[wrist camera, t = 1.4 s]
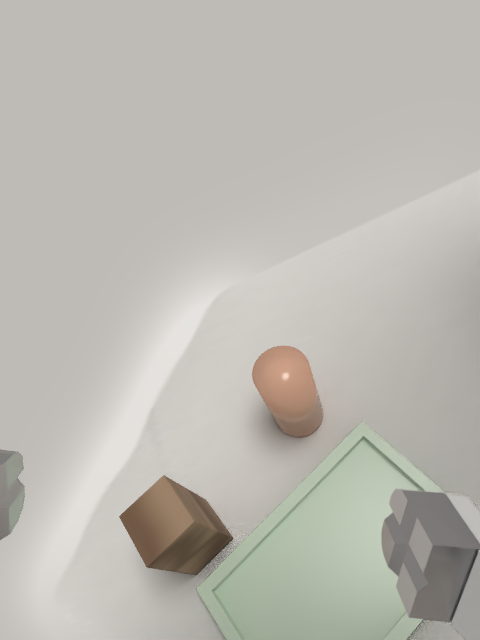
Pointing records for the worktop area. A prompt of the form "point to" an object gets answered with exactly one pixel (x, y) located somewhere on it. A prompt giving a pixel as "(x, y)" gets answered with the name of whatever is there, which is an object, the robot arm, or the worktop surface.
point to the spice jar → (288, 390)
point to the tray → (321, 555)
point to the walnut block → (174, 528)
